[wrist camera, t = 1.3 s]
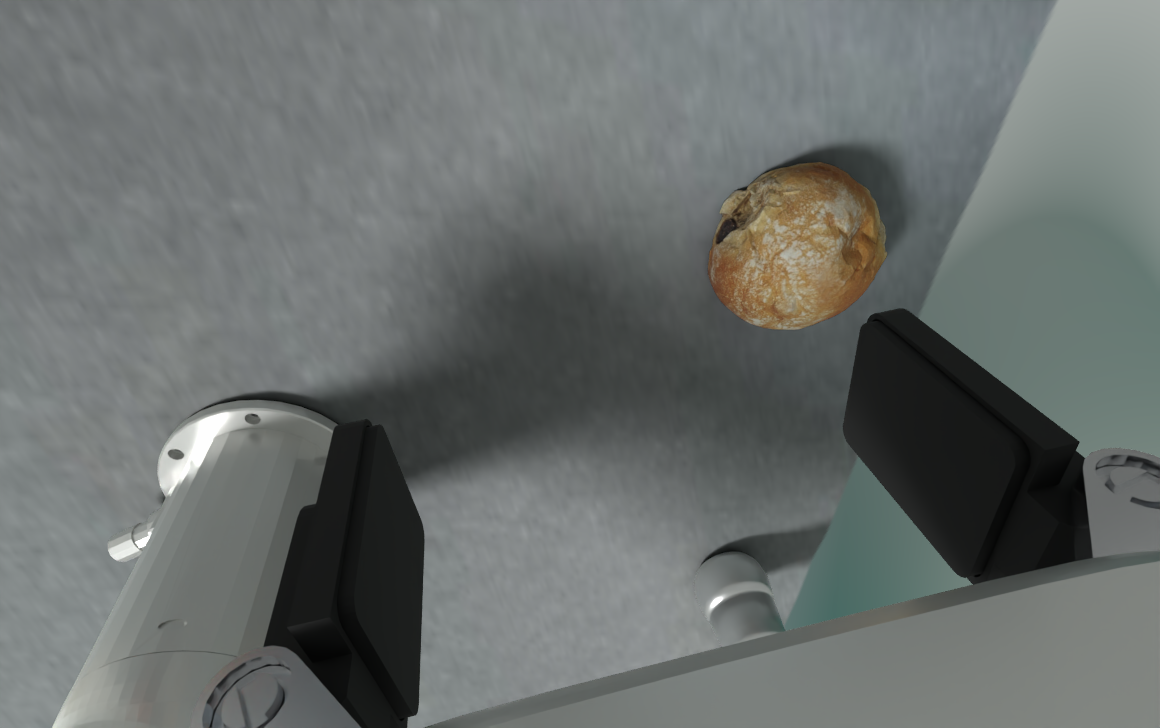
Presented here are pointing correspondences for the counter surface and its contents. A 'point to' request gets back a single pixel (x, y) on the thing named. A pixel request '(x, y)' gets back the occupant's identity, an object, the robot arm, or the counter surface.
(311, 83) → the counter surface
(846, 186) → the bread roll
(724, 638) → the plastic bottle
